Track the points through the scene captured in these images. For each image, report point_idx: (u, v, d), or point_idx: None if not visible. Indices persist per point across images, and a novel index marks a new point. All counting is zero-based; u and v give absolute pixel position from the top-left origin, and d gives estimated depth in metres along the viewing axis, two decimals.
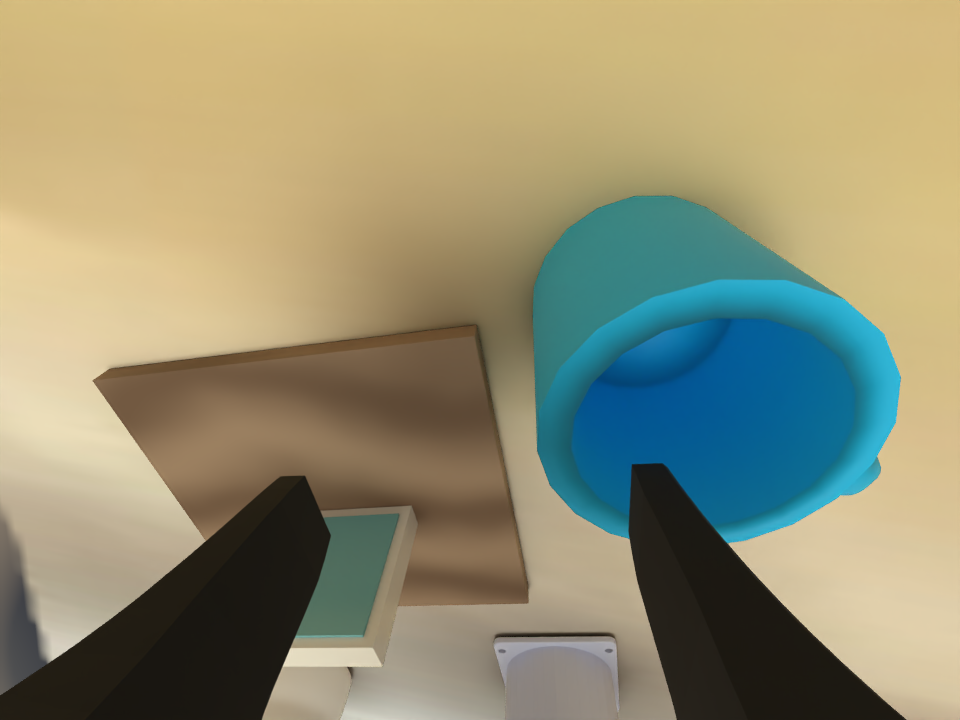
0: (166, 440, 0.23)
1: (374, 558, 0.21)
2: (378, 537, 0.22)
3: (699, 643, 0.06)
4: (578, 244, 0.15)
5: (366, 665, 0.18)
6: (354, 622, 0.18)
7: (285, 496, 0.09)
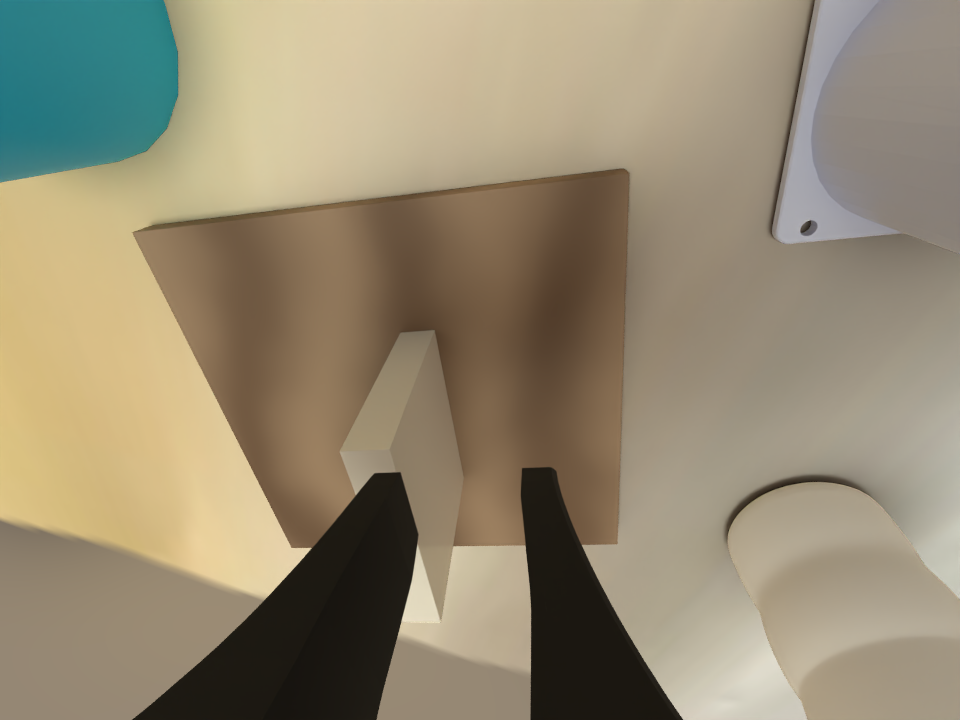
0: None
1: None
2: None
3: None
4: None
5: (392, 468, 0.12)
6: None
7: (388, 493, 0.09)
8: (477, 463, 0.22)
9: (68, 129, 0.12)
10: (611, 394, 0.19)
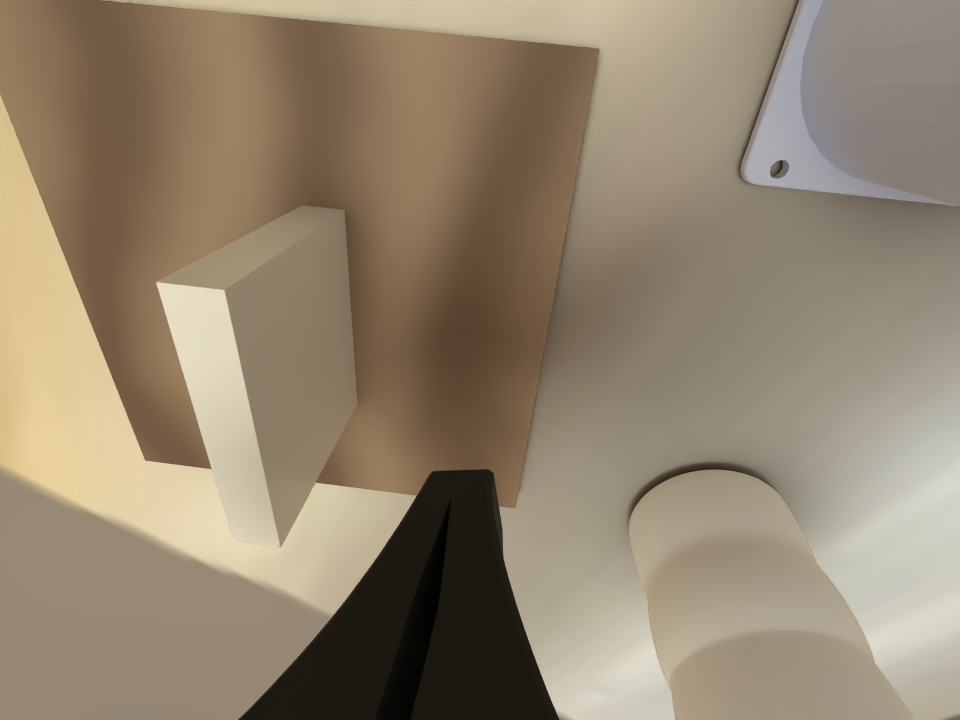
0: None
1: None
2: None
3: None
4: None
5: (227, 320, 0.09)
6: None
7: (453, 491, 0.09)
8: (375, 389, 0.19)
9: None
10: (536, 330, 0.17)
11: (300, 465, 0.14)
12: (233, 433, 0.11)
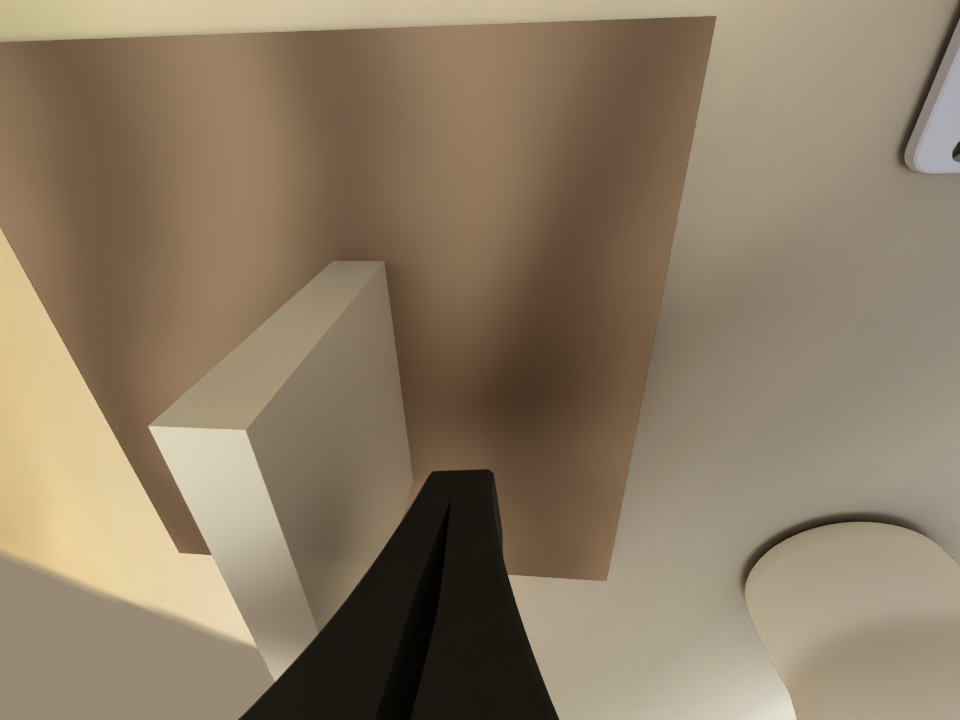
0: None
1: None
2: None
3: None
4: None
5: (253, 467, 0.06)
6: None
7: (453, 491, 0.09)
8: (433, 462, 0.16)
9: None
10: (630, 381, 0.13)
11: None
12: (275, 596, 0.08)
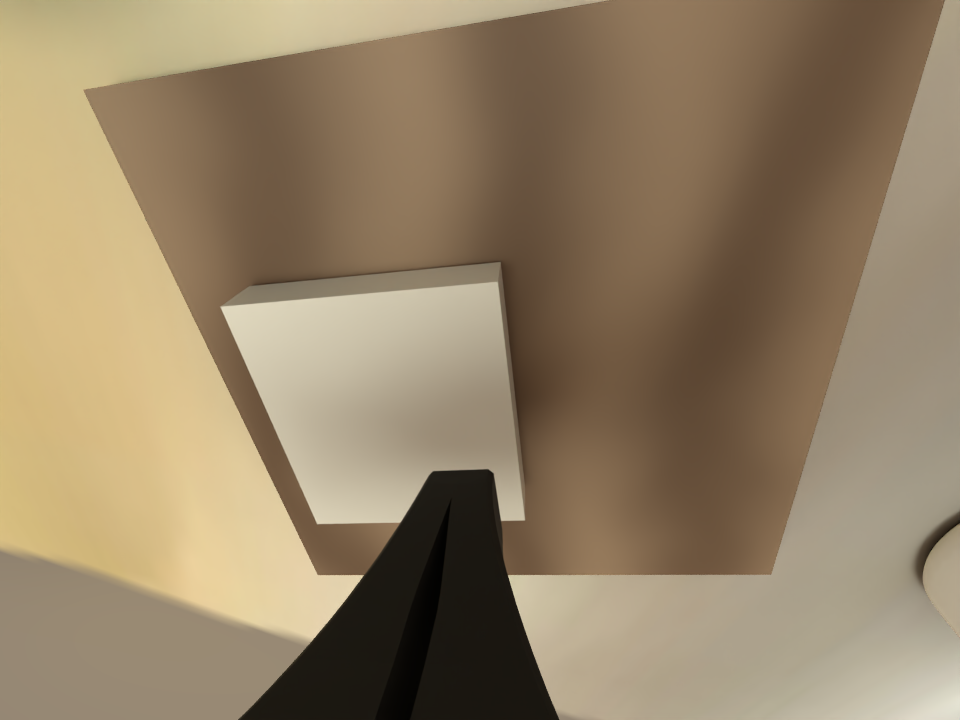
0: None
1: None
2: None
3: None
4: None
5: (232, 329, 0.12)
6: None
7: (453, 491, 0.09)
8: (591, 462, 0.15)
9: None
10: (819, 357, 0.12)
11: (355, 490, 0.14)
12: None
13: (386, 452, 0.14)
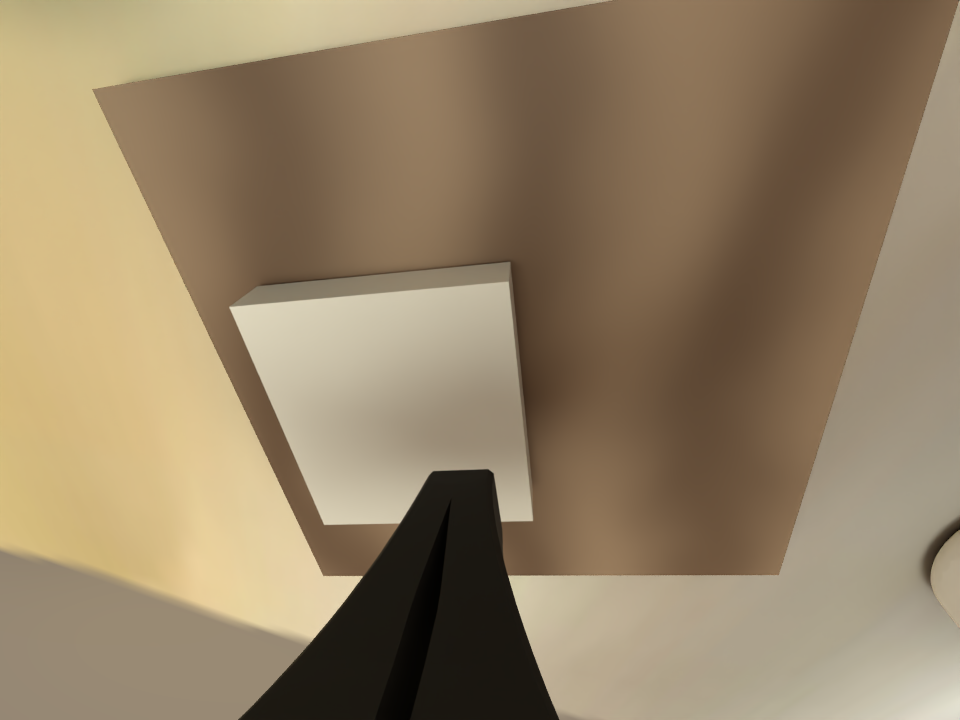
0: None
1: None
2: None
3: None
4: None
5: (241, 330, 0.12)
6: None
7: (453, 491, 0.09)
8: (599, 463, 0.15)
9: None
10: (829, 357, 0.12)
11: (363, 490, 0.14)
12: None
13: (394, 453, 0.13)
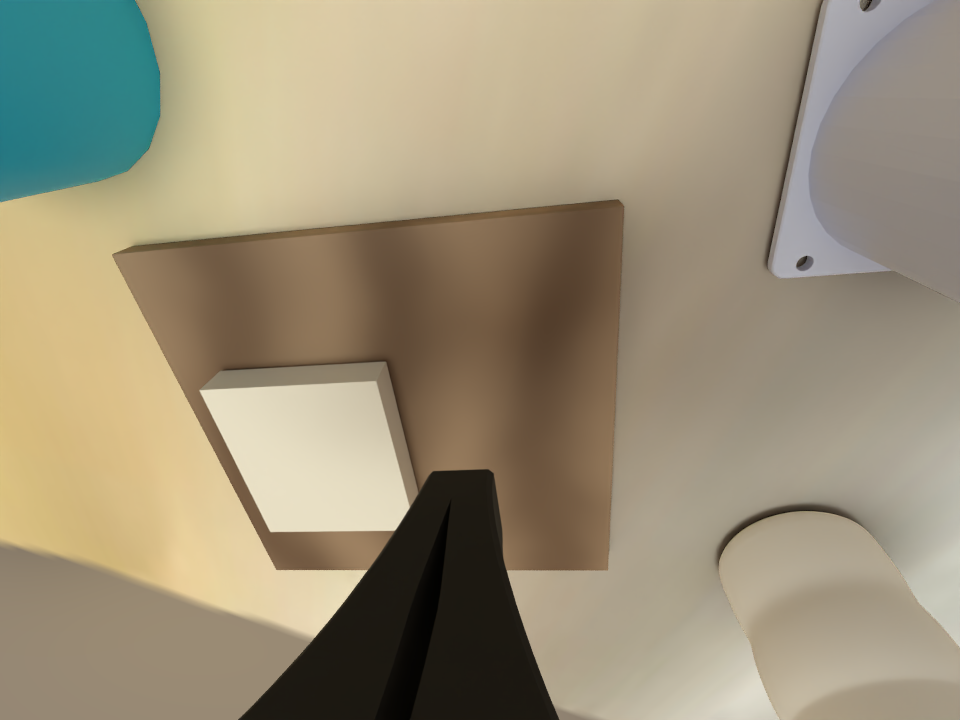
0: (332, 549, 0.24)
1: None
2: None
3: None
4: None
5: (208, 403, 0.18)
6: None
7: (453, 491, 0.09)
8: None
9: (41, 156, 0.12)
10: (603, 423, 0.19)
11: (295, 508, 0.20)
12: None
13: (315, 483, 0.20)
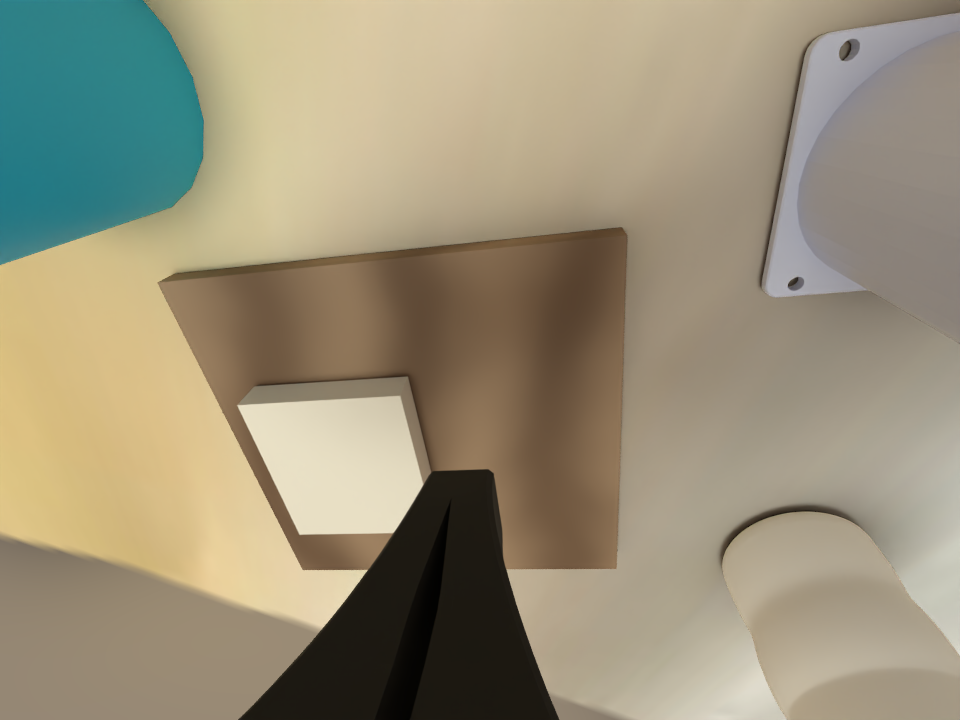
0: (356, 550, 0.26)
1: None
2: None
3: None
4: None
5: (244, 417, 0.19)
6: None
7: (453, 491, 0.09)
8: None
9: (107, 204, 0.13)
10: (610, 431, 0.20)
11: (323, 512, 0.22)
12: None
13: (342, 489, 0.21)
